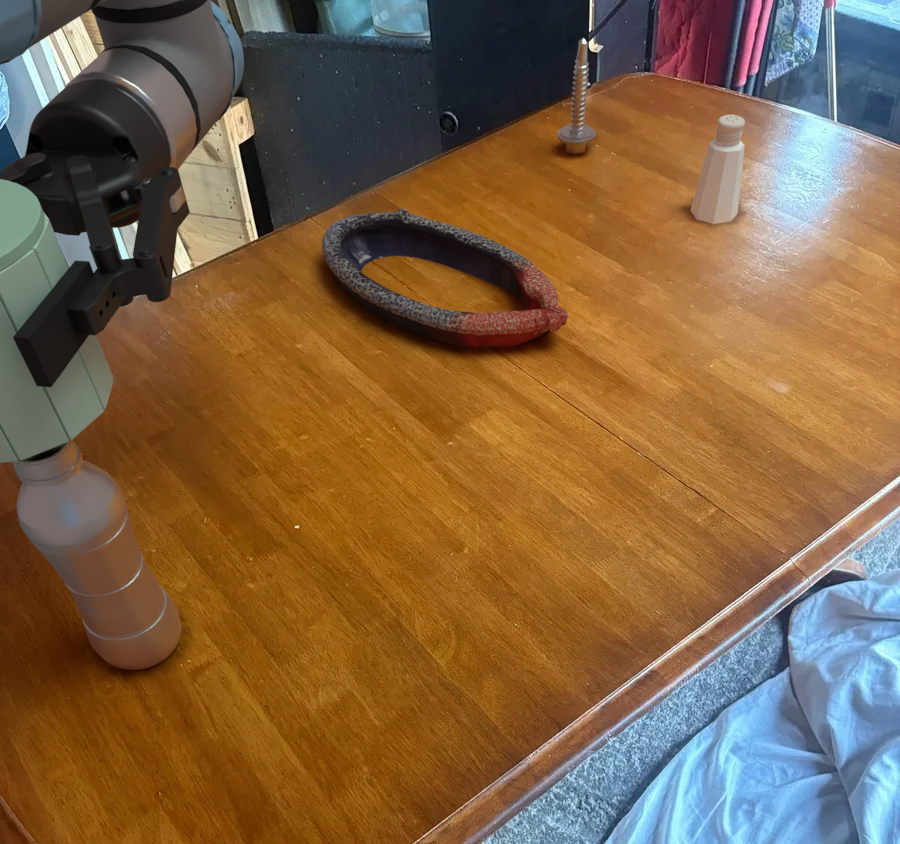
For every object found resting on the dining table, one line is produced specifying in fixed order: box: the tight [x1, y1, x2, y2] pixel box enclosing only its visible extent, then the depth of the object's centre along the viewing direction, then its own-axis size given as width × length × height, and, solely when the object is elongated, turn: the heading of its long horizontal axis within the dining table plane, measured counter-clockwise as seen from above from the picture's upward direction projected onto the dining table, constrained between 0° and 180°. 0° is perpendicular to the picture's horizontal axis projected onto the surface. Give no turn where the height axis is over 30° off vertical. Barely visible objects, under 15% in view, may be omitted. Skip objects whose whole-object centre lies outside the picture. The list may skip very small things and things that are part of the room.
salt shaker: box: [690, 114, 746, 225], centre depth 99 cm, size 5×5×11 cm
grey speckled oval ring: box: [321, 208, 569, 349], centre depth 92 cm, size 16×31×5 cm, turn 47°
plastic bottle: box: [11, 438, 182, 671], centre depth 59 cm, size 6×7×20 cm
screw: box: [557, 37, 597, 156], centre depth 110 cm, size 13×5×5 cm
